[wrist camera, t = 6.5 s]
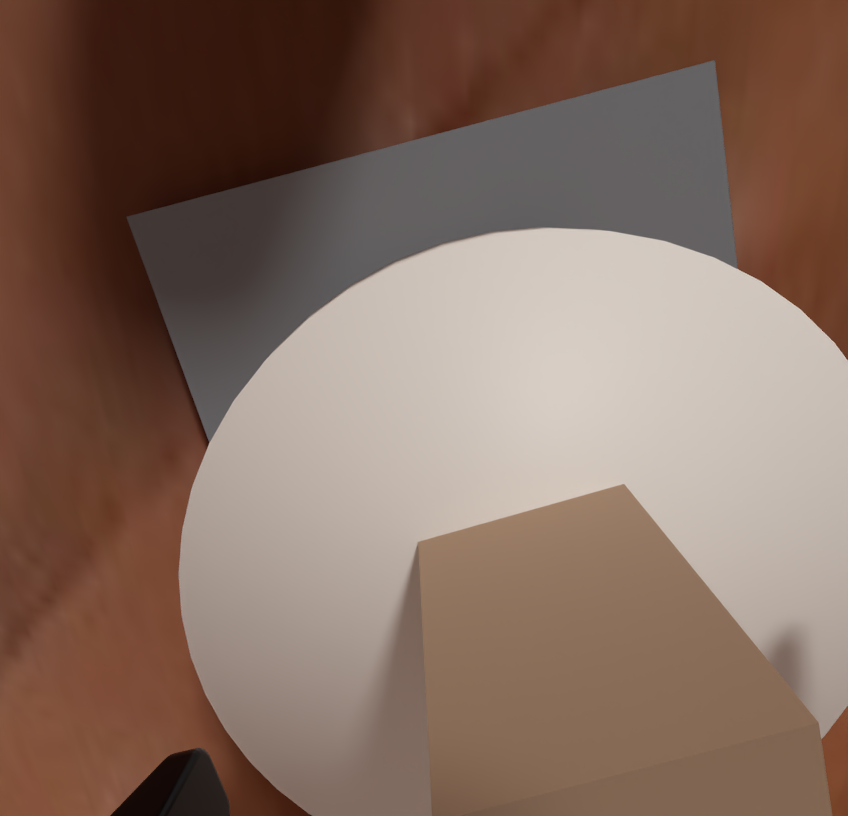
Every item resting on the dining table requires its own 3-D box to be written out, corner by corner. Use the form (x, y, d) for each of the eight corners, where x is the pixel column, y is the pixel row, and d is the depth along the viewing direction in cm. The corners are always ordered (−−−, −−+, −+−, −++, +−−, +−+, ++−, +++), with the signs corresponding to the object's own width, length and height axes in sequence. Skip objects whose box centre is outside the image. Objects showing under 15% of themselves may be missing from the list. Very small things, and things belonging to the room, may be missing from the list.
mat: (701, 66, 13) (714, 60, 13) (766, 638, 17) (779, 652, 17) (137, 216, 14) (126, 216, 13) (327, 740, 18) (325, 757, 17)
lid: (818, 128, 9) (1421, 9, 4) (885, 737, 12) (1270, 1155, 7) (86, 352, 9) (-310, 527, 4) (326, 881, 12) (271, 1372, 7)
